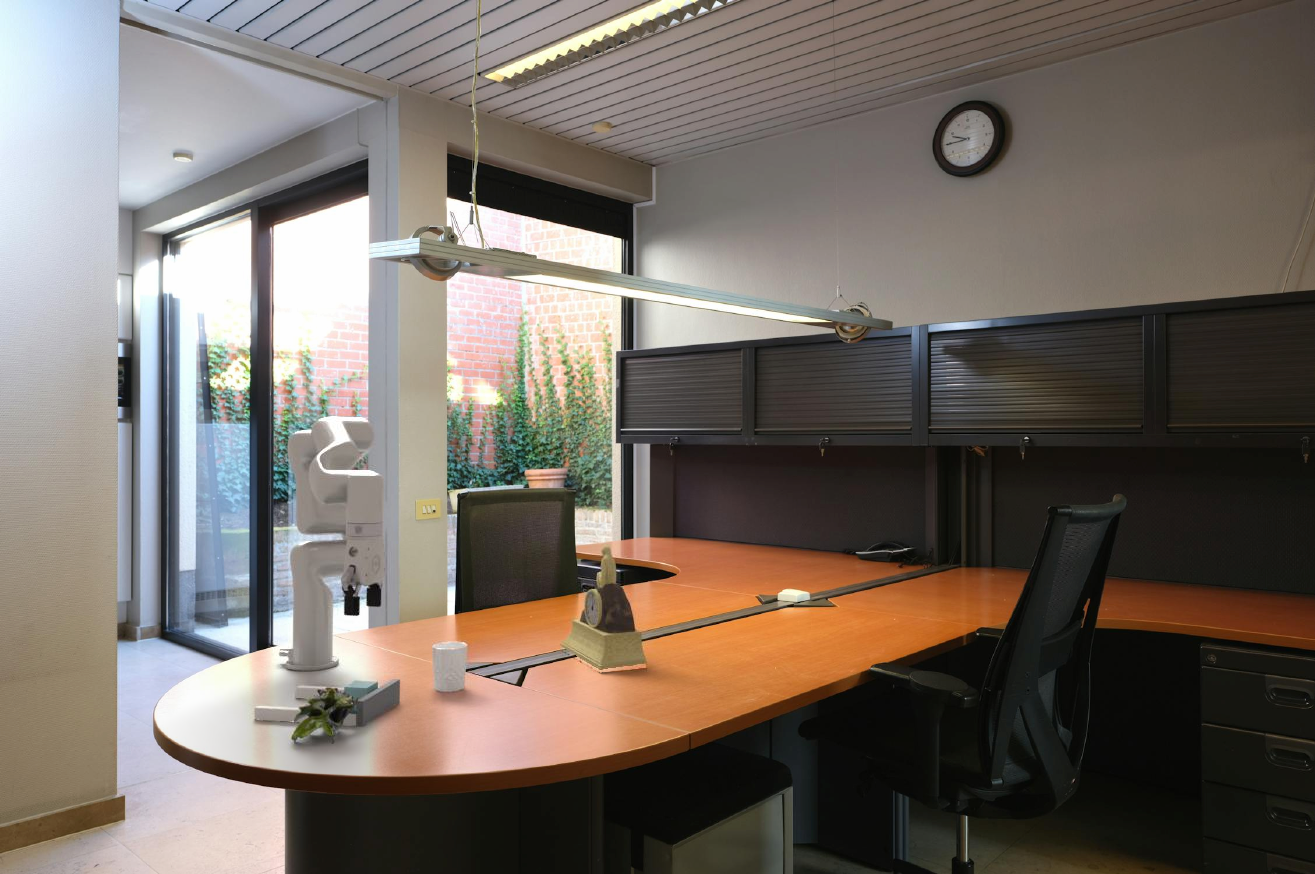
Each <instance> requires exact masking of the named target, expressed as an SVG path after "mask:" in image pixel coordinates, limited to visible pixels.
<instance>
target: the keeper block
mask: <svg viewBox="0 0 1315 874" xmlns="http://www.w3.org/2000/svg"><path fill="white" fill-rule="evenodd" d="M343 688H344V692H345V693H346V695H347V694H350V696H349V697H351V696H353V697H354V698H353V700H354V701H355V700H356V698H357V697H358V700H359V699H360V698H362V697H364V696H366V695H367V694H369V693H371V692H372V691H374V690H376V689H377V688H379V682H378V681H371V680H370V681H368V680H354V681H352V682H351V683H349V684H347V685H345V686H344V687H343ZM355 709H356V707H355Z"/></svg>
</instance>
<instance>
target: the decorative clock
mask: <svg viewBox="0 0 1315 874" xmlns="http://www.w3.org/2000/svg"><path fill="white" fill-rule="evenodd" d="M600 551H601V554H602V555H601V556H602V558H601V563H600V571H599V572H597V574H596V586H597V587H595V588H594V589H593V588H591V589H588V591H587V592H586V594H585V597H584V605H583V606H584V607H583V608H584V609H583V610H582V612H581V615H580V619H579V618H578V619H572V620H571V621H572V626H571V628H570V629H571V631H570V632H569V634H568V636H566V638H565V639H564V640H563V641H562V642H560V643H559V645H560V646H562V647H563V648H565V649H567V650H569V651H570V652H572V653H574V655H576V656H577V657H579V658H580V659H582V660H584V661H586V662H587V663H589V664H591V665H592V666H594V667H596V668H598V669H599V670H603V669H608V668H616V667H623V666H633V665H637V664H645V663H646V664H647V660H646V659H647V658H646V655H645V651H644V648H643V642H642V640H643V639H642V631H640V630H639V629H636V626H635V619H634V614H633V610H632V605H631V603H630V601H629V599H628V596H627V595H626V594H627V593H626V592H625V590H624V588H623V587H622V586H621V585H620V584H618V583H617V565H616V561H615V560H616V559H615V558H614V555H613V554H612V550H611V547H610V546H609V545H603V547H601V549H600ZM560 646H559V647H560Z"/></svg>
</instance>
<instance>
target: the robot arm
mask: <svg viewBox="0 0 1315 874" xmlns="http://www.w3.org/2000/svg"><path fill="white" fill-rule="evenodd" d="M374 444H375V430H374V427H373V425H372V423H371V422H370V421H369V420H368V419H366V418H364V417H354V416H353V417H352V416H351V417H350V416H349V417H348V416H346V417H345V416H325V417H322V418H320V419H317V420H316V421H315V422H314V423H313V424H312V426H311V429H307V430H299V431H295V432H293V433H292V434H291V435H290V436H289V438H288V442H287V457H288V462H289V464H290V467H291V470H292V472H293V476H294V480H295V518H296V522H295V523H296V527H297V530H298V531H299V533H300V534H303V535H305V536H329V535H330V536H331V535H340V536H341V537H342V539H323V540H308V541H307V540H306V541H303V542H300V543H298V544H295V546H293V547H292V548H291V551H290V554H289V563H290V564H289V565H290V569H291V577H292V588H293V589H292V590H293V592H292V593H293V594H292V595H293V596H292V598H293V599H292V600H293V601H292V604H293V605H292V606H293V609H292V611H293V612H292V646H291V647H281V648H280V649H279V652H278V653H279V654H278V655H279V657H287V658H288V660H286V662H285V667H287V669H288V668H289V669H288V670H291V669H292V671H299V670H301V672H302V671H304V672H305V671H306V672H307V671H319V670H320V671H321V670H324V669H325V670H326V669H329V668H332V667H336V666H337V665H338V664H339V663H340V662H339V661H340V659H339V657H337V656H335V655H333V650H334V648H333V645H334V643H333V642H334V637H333V636H334V635H333V634H334V594H333V592H332V589H331V588H330V587H329V586H328V585H327V584H326V583H325V582H324V580H323V579H327V578H328V579H329V578H339V577H341V578H340V582H341V590H342V596H343V597H344V598H343V600H344V601H343V615H344V616H349V617H350V616H352V617H353V616H354V617H357V616H360V613H361V612H360V611H361V610H360V609H361V608H360V605H361V602H360V601H361V596H360V595H359V593H360V591H361V589H362V586H363V587H367V588H366V596H365V597H366V601H365V602H366V603H365V605H366V607H373V608H375V607H376V608H380V607H382V588H383V580H384V579H385V577H386V561H385V560H386V557H385V544H384V538H383V537H384V496H385V495H384V490H385V489H384V485H385V484H384V482H385V481H384V477H383V476H382V474H380V473H377V472H375V471H373V470H370V469H369V470H365V469H361V470H353V468H354V467H356V465H357V464H358V462H360V461H361V460H362V459H363V458H364V457H365V456H366V455H367V454H368V453H370V451H371V449H372V448H373V446H374Z"/></svg>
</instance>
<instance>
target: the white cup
mask: <svg viewBox="0 0 1315 874" xmlns="http://www.w3.org/2000/svg"><path fill="white" fill-rule="evenodd" d="M431 648H432V668H433V669H432V671H433V672H432V673H433V678H434V679H433V682H434V683H433V687H434V690H435V691H437V692H442V693H453V691H454V692H458V691H461V689H462V690H463V689H464V688H465V679H466V674H467V673H466V672H467V671H466V670H467V655H468V644H467V643H466V642H464V641H463V642H461V641H442V642H437V643H434V644H433V645H432V647H431Z"/></svg>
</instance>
